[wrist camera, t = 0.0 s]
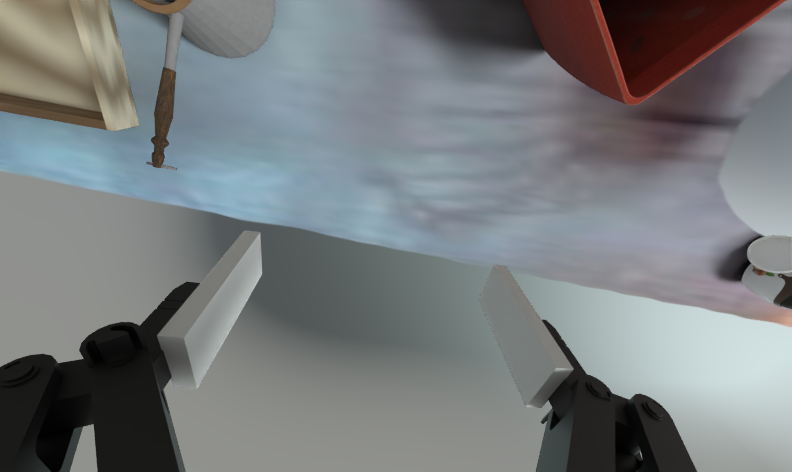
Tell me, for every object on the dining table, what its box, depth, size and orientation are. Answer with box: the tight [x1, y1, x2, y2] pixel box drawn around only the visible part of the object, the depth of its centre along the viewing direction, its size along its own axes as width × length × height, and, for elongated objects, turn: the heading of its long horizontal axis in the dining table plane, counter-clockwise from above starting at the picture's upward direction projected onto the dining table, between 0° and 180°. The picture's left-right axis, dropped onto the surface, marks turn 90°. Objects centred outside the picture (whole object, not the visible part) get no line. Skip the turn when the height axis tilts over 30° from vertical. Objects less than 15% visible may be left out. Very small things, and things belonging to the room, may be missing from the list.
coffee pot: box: [132, 0, 275, 170], centre depth 27 cm, size 21×12×15 cm, turn 164°
